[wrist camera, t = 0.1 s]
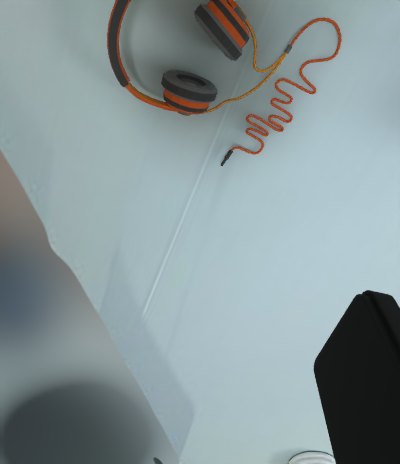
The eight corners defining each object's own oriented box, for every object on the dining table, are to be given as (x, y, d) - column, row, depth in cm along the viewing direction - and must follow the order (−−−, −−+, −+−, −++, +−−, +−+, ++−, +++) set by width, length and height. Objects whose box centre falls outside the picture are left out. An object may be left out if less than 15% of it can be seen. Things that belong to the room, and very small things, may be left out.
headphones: (343, 33, 34) (160, -117, 26) (369, 45, 30) (163, -128, 22) (244, 168, 43) (83, 87, 35) (255, 192, 39) (75, 106, 30)
